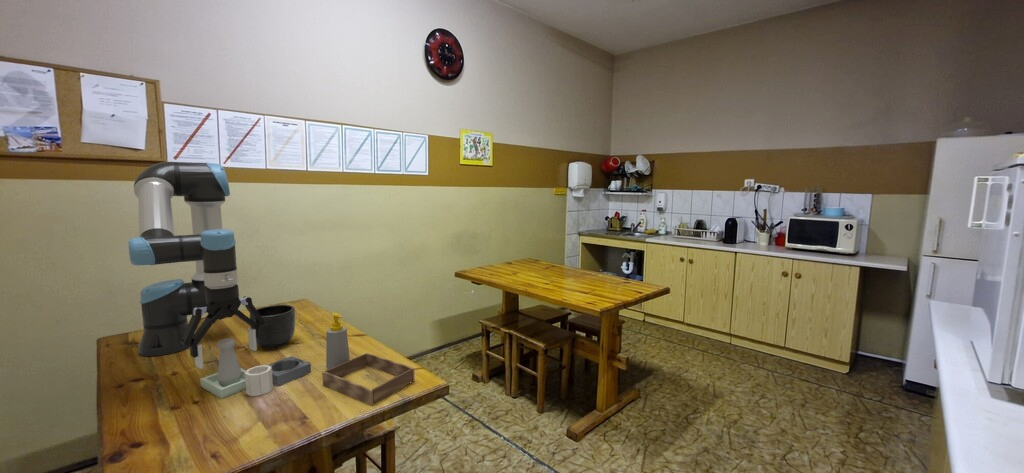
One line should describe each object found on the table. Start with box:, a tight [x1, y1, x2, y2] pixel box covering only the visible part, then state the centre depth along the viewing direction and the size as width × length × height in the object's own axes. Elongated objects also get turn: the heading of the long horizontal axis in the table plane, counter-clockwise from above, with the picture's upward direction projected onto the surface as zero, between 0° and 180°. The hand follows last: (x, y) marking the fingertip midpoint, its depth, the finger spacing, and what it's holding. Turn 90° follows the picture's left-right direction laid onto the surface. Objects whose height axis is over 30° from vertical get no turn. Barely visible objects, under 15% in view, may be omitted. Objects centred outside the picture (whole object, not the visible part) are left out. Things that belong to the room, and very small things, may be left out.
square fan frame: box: [267, 355, 312, 387], centre depth 121 cm, size 10×10×3 cm
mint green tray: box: [199, 367, 248, 400], centre depth 115 cm, size 12×10×2 cm
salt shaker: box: [216, 337, 242, 387], centre depth 114 cm, size 6×6×13 cm
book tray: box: [321, 352, 416, 407], centre depth 117 cm, size 21×16×4 cm
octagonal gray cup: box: [245, 364, 274, 397], centre depth 112 cm, size 6×6×6 cm
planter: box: [248, 304, 296, 350], centre depth 143 cm, size 14×14×13 cm
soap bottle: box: [325, 312, 351, 370], centre depth 125 cm, size 7×7×18 cm
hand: (227, 358), depth 114 cm, fingers open, 13 cm apart
